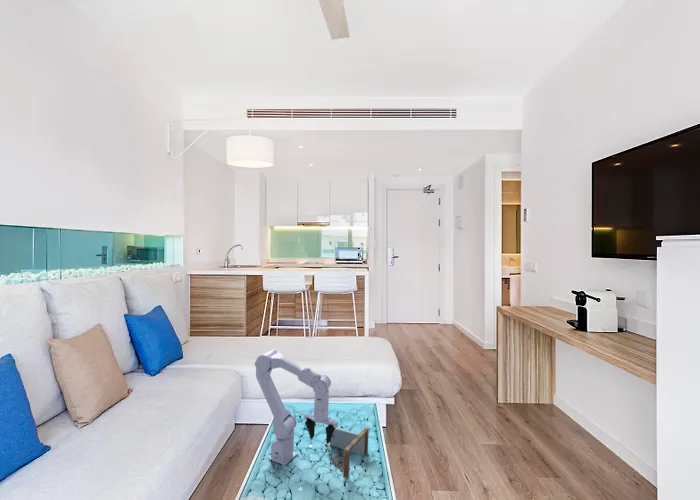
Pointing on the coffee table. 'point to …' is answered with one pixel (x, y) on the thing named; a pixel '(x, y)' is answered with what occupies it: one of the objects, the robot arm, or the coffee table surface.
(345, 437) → the door
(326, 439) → the robot arm
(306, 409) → the coffee table surface
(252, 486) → the coffee table surface
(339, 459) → the driftwood
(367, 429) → the door frame
